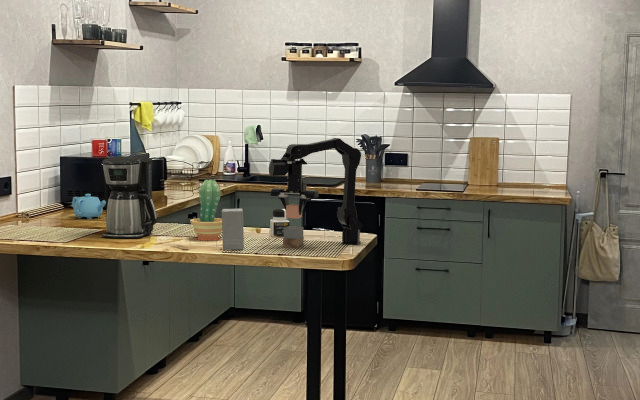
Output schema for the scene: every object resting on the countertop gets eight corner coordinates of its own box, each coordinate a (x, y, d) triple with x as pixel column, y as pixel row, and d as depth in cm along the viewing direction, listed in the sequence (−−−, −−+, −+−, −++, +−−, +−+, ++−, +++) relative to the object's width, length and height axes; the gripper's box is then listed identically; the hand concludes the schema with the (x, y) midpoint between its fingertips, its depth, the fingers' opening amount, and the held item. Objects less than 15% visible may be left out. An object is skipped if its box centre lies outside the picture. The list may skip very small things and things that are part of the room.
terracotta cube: (302, 217, 351) (302, 204, 350) (297, 218, 346) (297, 206, 345) (290, 216, 352) (290, 204, 352) (286, 217, 347) (286, 205, 347)
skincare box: (244, 247, 346) (244, 208, 344) (243, 250, 339) (243, 210, 337) (222, 247, 346) (222, 207, 344) (221, 250, 339) (221, 209, 337)
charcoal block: (303, 236, 352) (303, 227, 351) (297, 238, 346) (297, 228, 346) (289, 235, 354) (289, 226, 353) (283, 237, 348) (284, 228, 348)
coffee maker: (102, 240, 358) (101, 158, 355) (98, 229, 389) (97, 154, 386) (157, 238, 365) (157, 158, 362) (149, 228, 396) (149, 154, 392)
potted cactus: (234, 238, 369) (234, 179, 366) (209, 242, 356) (209, 182, 353) (206, 235, 377) (206, 177, 375) (182, 239, 365) (182, 179, 362)
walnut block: (303, 246, 352) (303, 236, 352) (298, 248, 346) (298, 239, 346) (288, 245, 354) (288, 235, 354) (282, 247, 348) (283, 237, 348)
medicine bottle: (273, 238, 372) (273, 210, 371) (269, 235, 379) (270, 208, 378) (289, 237, 374) (289, 209, 373) (285, 235, 381) (286, 208, 380)
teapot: (61, 218, 423) (61, 194, 421) (83, 214, 438) (82, 191, 437) (96, 221, 415) (95, 196, 414) (116, 217, 431) (116, 193, 429)
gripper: (323, 175, 352) (322, 213, 353) (280, 173, 358) (279, 211, 359) (314, 177, 341) (313, 216, 343) (270, 175, 347) (269, 214, 349)
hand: (294, 214), depth 349 cm, fingers closed on terracotta cube, 5 cm apart
